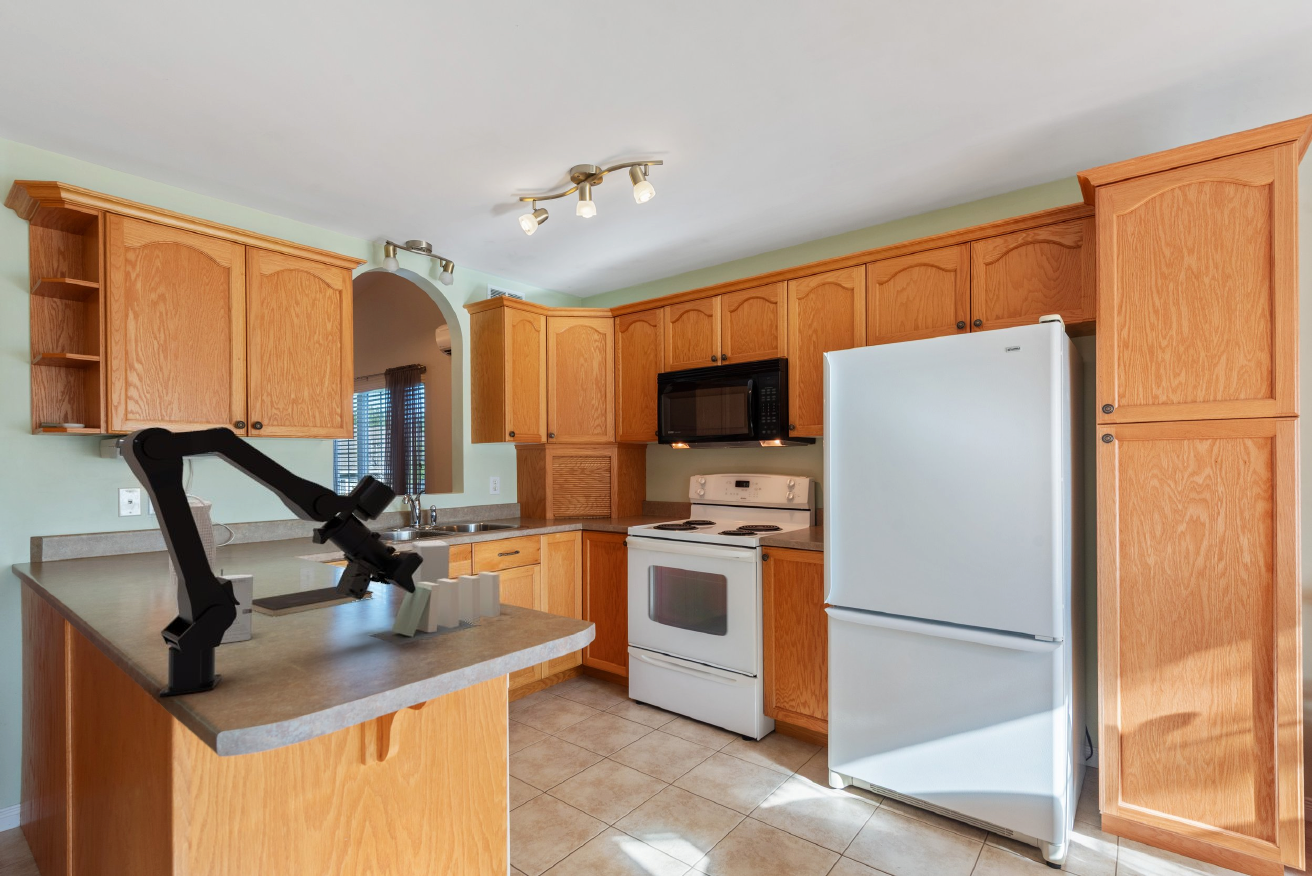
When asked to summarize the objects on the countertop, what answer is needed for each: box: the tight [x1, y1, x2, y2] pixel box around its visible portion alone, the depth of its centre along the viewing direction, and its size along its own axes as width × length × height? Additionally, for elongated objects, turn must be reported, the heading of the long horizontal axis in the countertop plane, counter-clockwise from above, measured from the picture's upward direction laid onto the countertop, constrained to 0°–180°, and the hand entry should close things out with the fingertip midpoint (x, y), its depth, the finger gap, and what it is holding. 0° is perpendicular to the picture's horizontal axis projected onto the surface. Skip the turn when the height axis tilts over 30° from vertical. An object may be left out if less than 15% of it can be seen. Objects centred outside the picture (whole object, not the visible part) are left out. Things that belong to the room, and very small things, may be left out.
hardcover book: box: [252, 585, 374, 617], centre depth 156 cm, size 16×23×2 cm
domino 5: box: [477, 571, 501, 617], centre depth 138 cm, size 2×5×9 cm, turn 51°
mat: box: [369, 620, 481, 646], centre depth 130 cm, size 26×11×1 cm, turn 141°
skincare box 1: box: [216, 573, 254, 644], centre depth 124 cm, size 6×4×12 cm
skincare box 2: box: [411, 539, 450, 586], centre depth 144 cm, size 8×7×16 cm
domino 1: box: [390, 586, 431, 637], centre depth 125 cm, size 2×5×9 cm, turn 50°
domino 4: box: [457, 574, 480, 623], centre depth 135 cm, size 2×5×9 cm, turn 51°
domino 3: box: [437, 578, 459, 628], centre depth 131 cm, size 2×5×9 cm, turn 51°
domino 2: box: [416, 582, 440, 633], centre depth 127 cm, size 2×5×9 cm, turn 51°
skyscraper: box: [168, 493, 224, 620], centre depth 127 cm, size 8×8×28 cm
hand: (413, 591), depth 125 cm, fingers closed
